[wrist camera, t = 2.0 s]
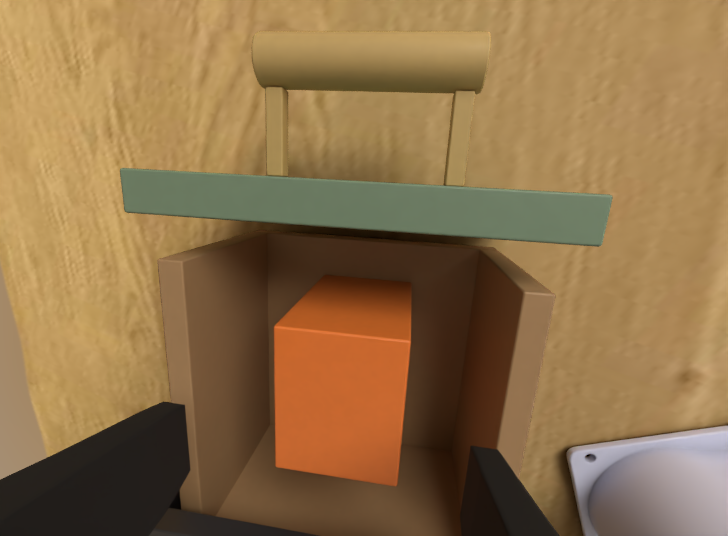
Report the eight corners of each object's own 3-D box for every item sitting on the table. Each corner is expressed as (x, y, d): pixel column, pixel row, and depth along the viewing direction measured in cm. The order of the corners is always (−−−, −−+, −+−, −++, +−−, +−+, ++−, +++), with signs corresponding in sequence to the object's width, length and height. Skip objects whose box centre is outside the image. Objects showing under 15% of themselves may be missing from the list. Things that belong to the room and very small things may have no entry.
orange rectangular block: (324, 274, 16) (272, 325, 10) (411, 281, 15) (411, 340, 9) (321, 371, 17) (274, 468, 11) (402, 381, 16) (397, 488, 11)
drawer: (242, 72, 15) (95, -25, 8) (536, 77, 14) (667, -37, 7) (253, 419, 19) (163, 552, 12) (476, 452, 18) (517, 623, 11)
